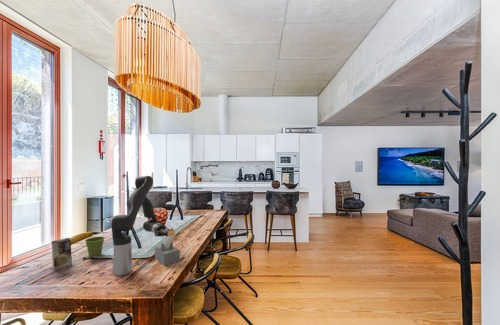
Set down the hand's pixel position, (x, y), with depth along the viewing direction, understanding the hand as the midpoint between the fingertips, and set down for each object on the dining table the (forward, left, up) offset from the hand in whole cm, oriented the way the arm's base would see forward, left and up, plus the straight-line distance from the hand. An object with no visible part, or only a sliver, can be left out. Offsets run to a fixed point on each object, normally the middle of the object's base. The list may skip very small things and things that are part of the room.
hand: (169, 235), depth 159 cm
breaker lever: (-5, +3, -9) cm, 11 cm away
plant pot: (-58, -3, -17) cm, 61 cm away
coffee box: (-63, -22, -17) cm, 69 cm away
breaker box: (-4, +3, -17) cm, 18 cm away
